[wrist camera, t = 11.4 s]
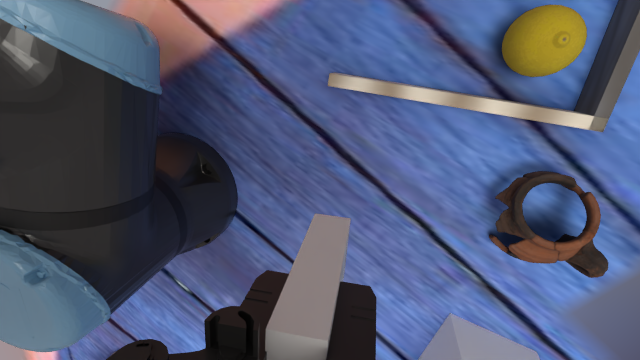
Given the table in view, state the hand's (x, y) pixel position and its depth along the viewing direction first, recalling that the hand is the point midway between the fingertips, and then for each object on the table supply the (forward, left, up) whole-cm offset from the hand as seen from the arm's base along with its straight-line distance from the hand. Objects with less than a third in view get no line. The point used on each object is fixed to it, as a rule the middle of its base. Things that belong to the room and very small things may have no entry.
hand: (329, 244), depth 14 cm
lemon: (+13, +11, -25) cm, 30 cm away
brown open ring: (+20, -6, -25) cm, 32 cm away
